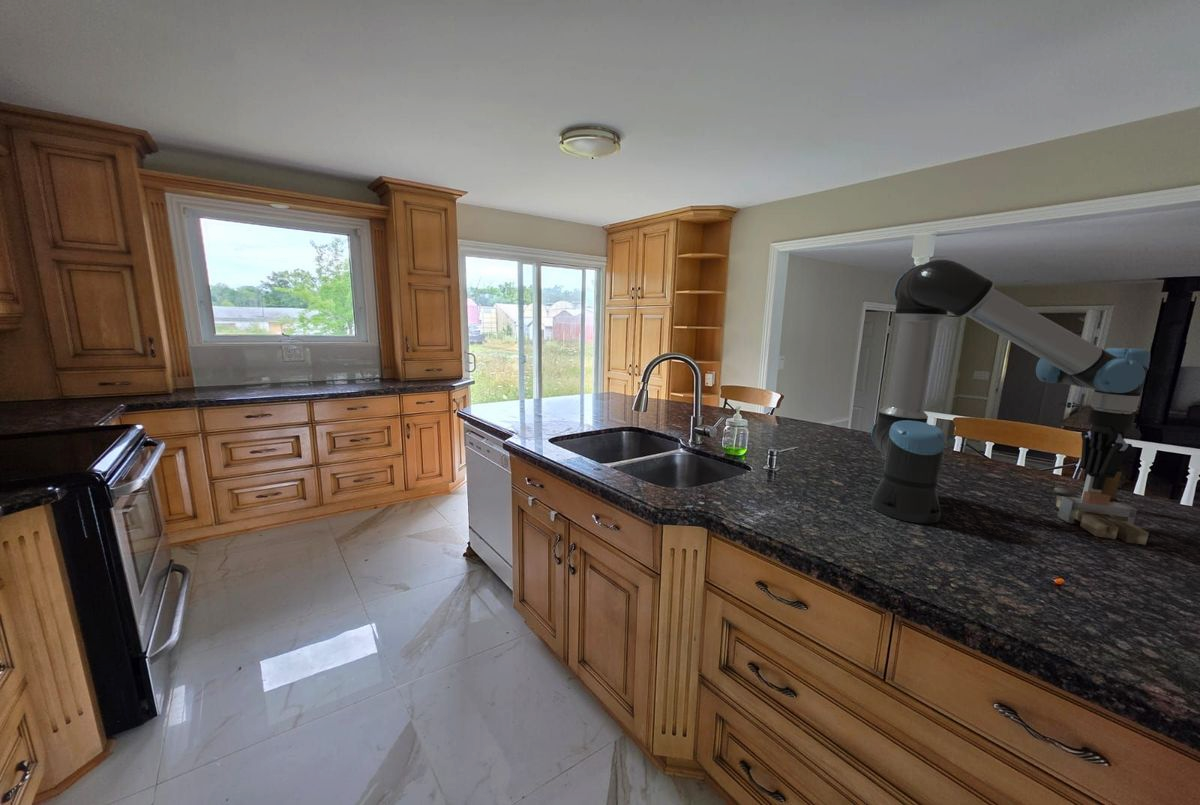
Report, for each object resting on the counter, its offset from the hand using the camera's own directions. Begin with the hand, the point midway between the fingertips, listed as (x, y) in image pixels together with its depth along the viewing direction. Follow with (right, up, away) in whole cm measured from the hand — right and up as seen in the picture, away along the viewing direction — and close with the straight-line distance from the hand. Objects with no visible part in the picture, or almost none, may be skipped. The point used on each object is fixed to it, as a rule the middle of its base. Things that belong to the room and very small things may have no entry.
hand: (1090, 499), depth 114 cm
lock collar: (-1, -6, -2) cm, 6 cm away
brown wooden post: (+15, -5, +11) cm, 19 cm away
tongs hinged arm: (-1, -5, +1) cm, 5 cm away
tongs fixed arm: (+1, -6, 0) cm, 6 cm away
